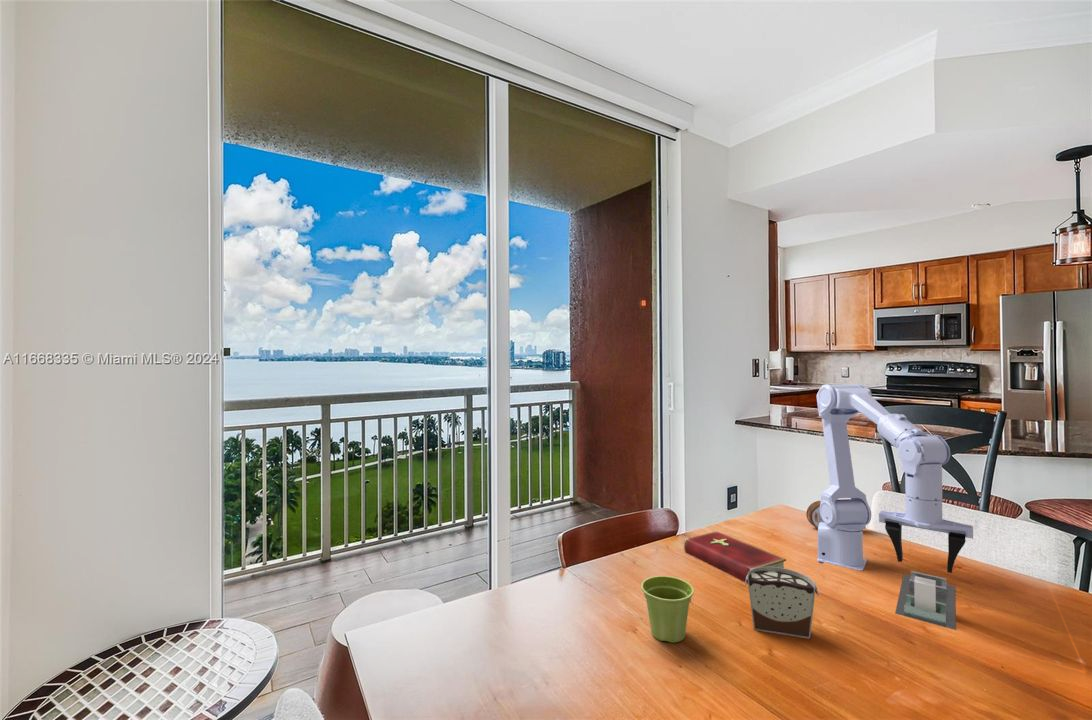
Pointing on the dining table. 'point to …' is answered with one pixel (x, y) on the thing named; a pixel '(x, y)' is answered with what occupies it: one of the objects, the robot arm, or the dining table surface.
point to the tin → (814, 514)
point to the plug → (925, 594)
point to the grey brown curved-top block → (781, 601)
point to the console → (943, 601)
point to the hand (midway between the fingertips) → (924, 565)
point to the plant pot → (667, 606)
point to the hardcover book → (730, 554)
